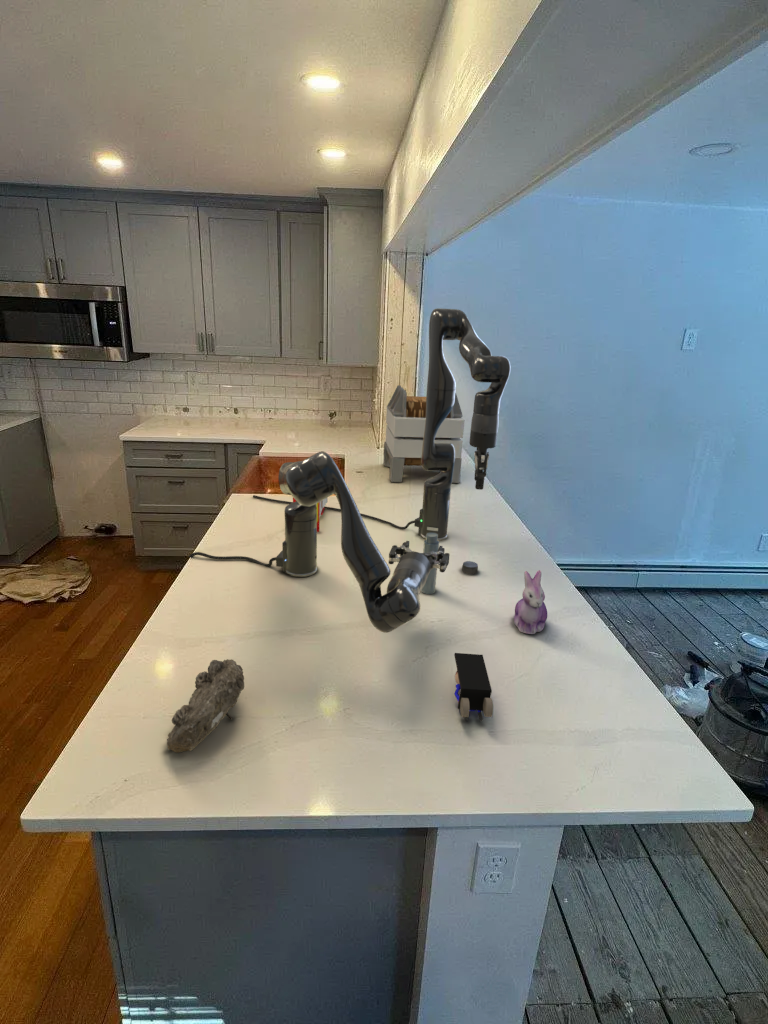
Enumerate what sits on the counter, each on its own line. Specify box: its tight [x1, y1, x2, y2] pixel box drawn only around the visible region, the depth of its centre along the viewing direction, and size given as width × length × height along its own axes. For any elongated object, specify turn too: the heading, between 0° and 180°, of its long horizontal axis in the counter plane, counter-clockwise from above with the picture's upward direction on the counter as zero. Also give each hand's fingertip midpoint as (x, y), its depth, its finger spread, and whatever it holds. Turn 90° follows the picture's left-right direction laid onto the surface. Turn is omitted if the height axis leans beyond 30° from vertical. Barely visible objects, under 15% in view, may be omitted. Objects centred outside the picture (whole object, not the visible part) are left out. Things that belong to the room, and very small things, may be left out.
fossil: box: [166, 658, 245, 754], centre depth 106 cm, size 22×10×15 cm
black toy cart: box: [454, 652, 494, 722], centre depth 114 cm, size 7×8×15 cm
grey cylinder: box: [420, 532, 440, 595], centre depth 158 cm, size 4×4×17 cm
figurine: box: [513, 569, 548, 635], centre depth 142 cm, size 9×10×15 cm
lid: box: [461, 560, 479, 576], centre depth 173 cm, size 5×5×2 cm
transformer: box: [383, 384, 465, 484], centre depth 268 cm, size 34×33×41 cm
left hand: (424, 546), depth 144 cm, fingers open, 8 cm apart
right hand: (478, 484), depth 164 cm, fingers open, 8 cm apart
